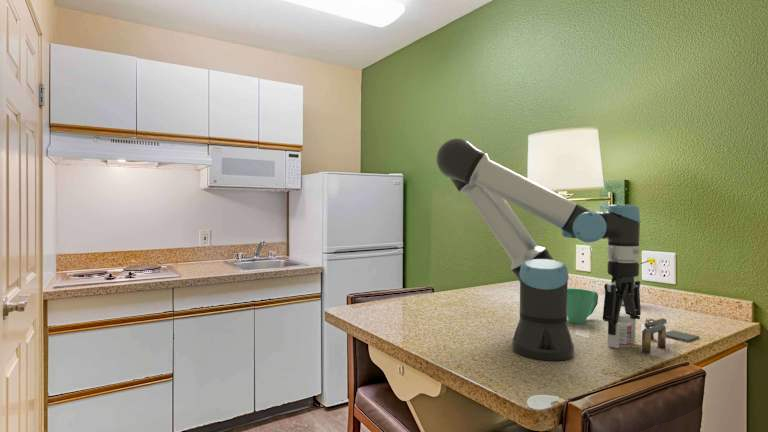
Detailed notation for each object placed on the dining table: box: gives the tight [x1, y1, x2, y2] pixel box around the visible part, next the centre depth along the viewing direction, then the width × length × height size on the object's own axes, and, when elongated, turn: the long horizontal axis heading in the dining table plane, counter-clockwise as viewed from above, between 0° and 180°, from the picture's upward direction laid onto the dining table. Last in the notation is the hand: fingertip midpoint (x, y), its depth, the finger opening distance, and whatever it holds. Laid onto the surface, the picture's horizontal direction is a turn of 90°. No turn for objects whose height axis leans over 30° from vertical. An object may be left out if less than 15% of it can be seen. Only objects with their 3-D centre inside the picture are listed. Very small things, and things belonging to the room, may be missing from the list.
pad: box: [666, 329, 700, 343], centre depth 126 cm, size 7×7×1 cm
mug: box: [567, 288, 599, 324], centre depth 144 cm, size 15×10×10 cm
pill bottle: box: [617, 312, 632, 348], centre depth 119 cm, size 5×5×8 cm
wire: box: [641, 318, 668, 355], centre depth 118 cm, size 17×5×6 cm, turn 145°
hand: (621, 343), depth 119 cm, fingers open, 7 cm apart
